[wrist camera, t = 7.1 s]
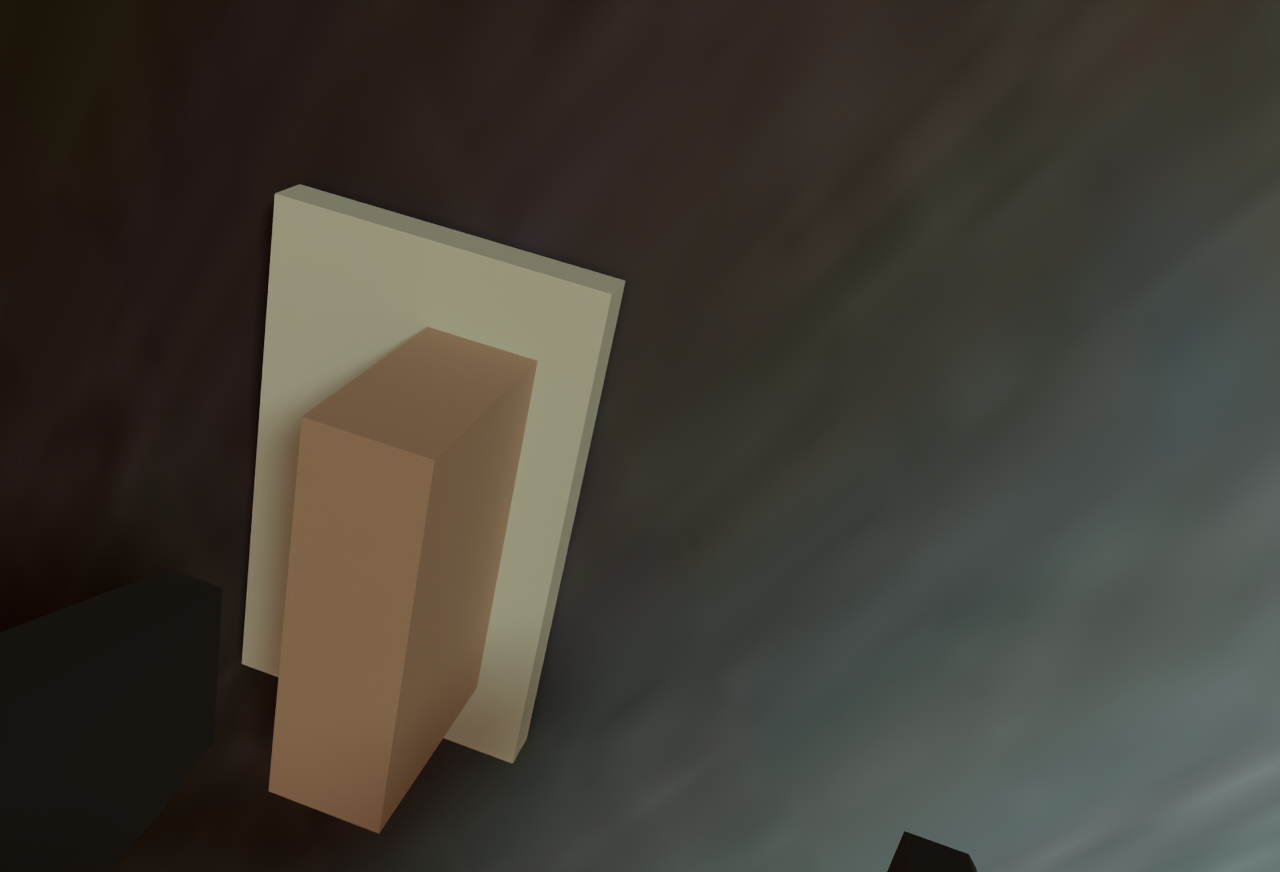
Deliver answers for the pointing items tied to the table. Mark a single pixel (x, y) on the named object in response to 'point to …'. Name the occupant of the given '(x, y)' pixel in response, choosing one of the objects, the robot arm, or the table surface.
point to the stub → (411, 491)
